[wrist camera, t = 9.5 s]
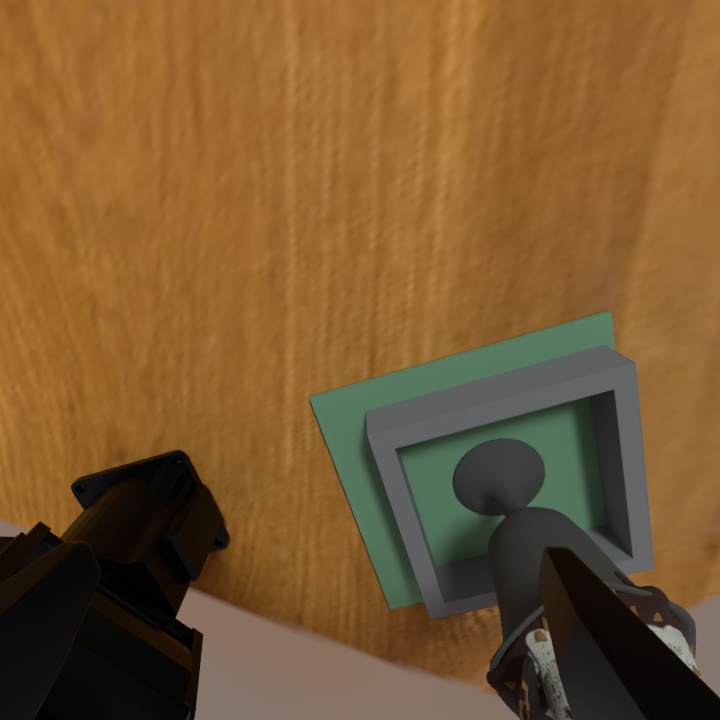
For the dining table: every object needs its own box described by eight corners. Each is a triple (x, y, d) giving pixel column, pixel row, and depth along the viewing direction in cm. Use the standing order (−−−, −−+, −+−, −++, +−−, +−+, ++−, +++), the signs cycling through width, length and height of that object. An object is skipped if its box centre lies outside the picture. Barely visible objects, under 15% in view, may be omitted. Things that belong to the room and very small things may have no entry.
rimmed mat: (389, 605, 27) (393, 649, 25) (310, 396, 22) (304, 422, 19) (633, 547, 26) (665, 587, 23) (607, 310, 21) (644, 327, 18)
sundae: (586, 455, 23) (945, 852, 9) (511, 542, 25) (710, 979, 11) (485, 400, 22) (718, 762, 8) (414, 497, 24) (500, 923, 10)
